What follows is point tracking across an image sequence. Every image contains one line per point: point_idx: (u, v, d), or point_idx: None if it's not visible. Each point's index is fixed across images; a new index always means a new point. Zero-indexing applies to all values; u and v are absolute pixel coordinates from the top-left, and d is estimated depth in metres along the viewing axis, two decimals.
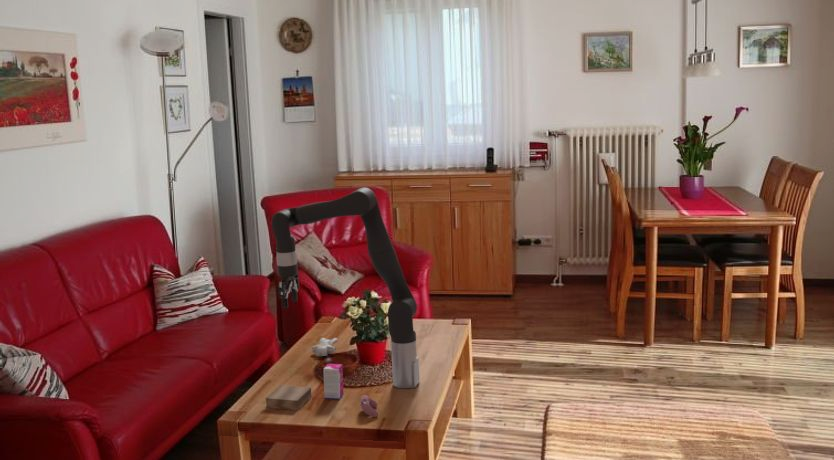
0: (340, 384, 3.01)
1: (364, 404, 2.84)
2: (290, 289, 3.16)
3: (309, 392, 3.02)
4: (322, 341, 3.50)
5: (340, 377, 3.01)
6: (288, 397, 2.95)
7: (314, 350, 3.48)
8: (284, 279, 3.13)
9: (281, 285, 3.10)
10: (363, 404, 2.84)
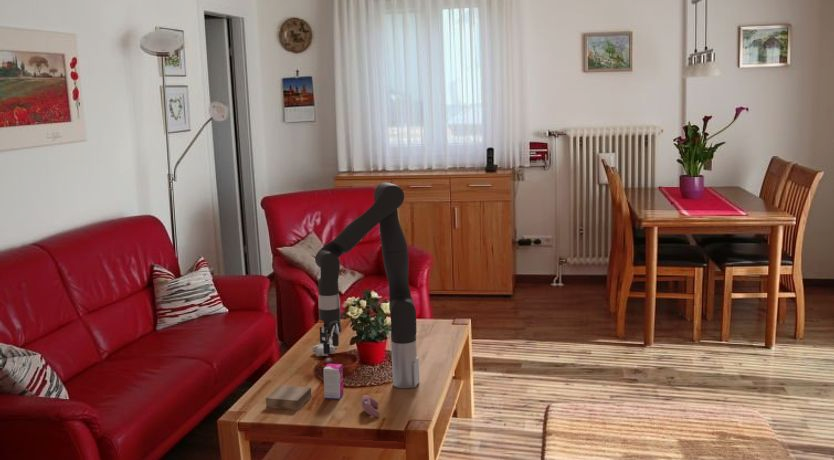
0: (340, 384, 3.01)
1: (365, 404, 2.84)
2: None
3: (309, 392, 3.02)
4: None
5: (340, 377, 3.01)
6: (288, 397, 2.95)
7: (314, 350, 3.48)
8: (326, 323, 2.94)
9: (323, 330, 2.92)
10: (364, 404, 2.84)
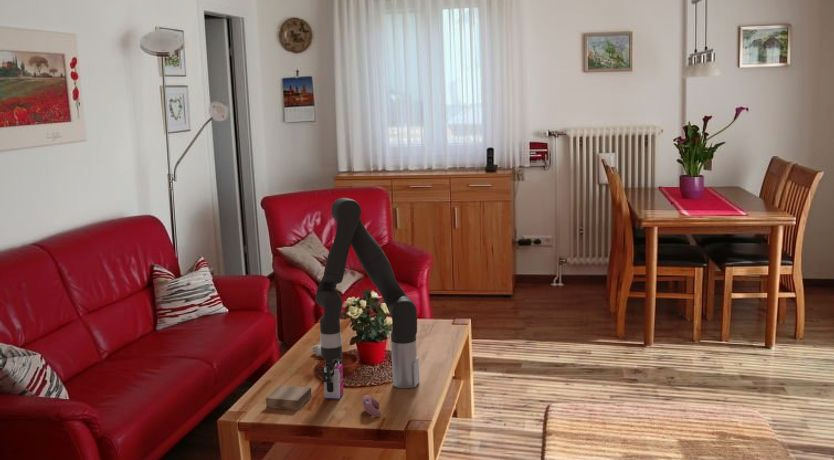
0: (340, 384, 3.01)
1: (366, 404, 2.84)
2: None
3: (309, 392, 3.02)
4: None
5: (340, 377, 3.01)
6: (288, 397, 2.95)
7: (314, 350, 3.48)
8: (328, 361, 2.97)
9: (326, 370, 2.95)
10: (365, 404, 2.84)
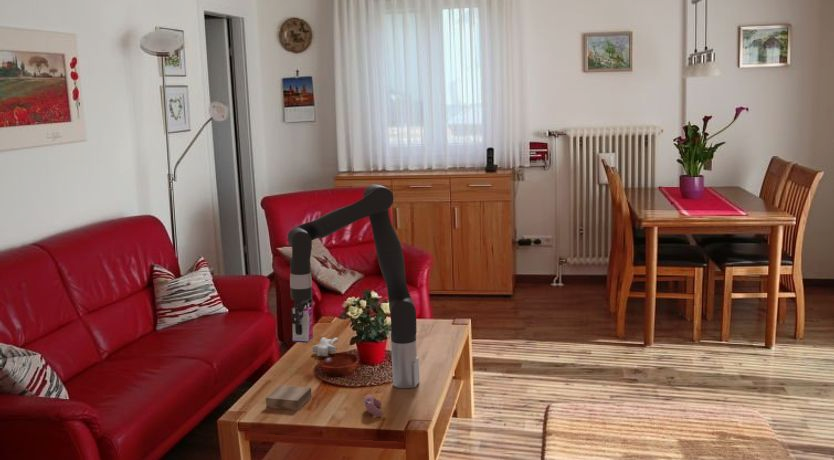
0: (309, 327, 2.95)
1: (368, 404, 2.84)
2: None
3: (309, 392, 3.02)
4: (323, 341, 3.50)
5: (309, 320, 2.94)
6: (288, 397, 2.95)
7: (315, 350, 3.48)
8: (298, 303, 2.91)
9: (294, 311, 2.88)
10: (367, 404, 2.84)
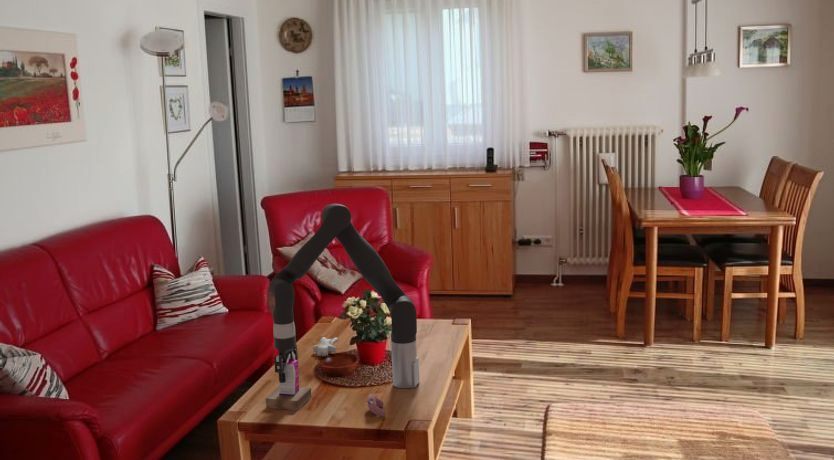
0: (295, 380, 2.97)
1: (371, 403, 2.84)
2: None
3: (309, 393, 3.02)
4: (323, 340, 3.50)
5: (295, 373, 2.97)
6: (288, 397, 2.95)
7: (315, 350, 3.48)
8: (281, 352, 2.92)
9: (278, 359, 2.90)
10: (370, 403, 2.84)
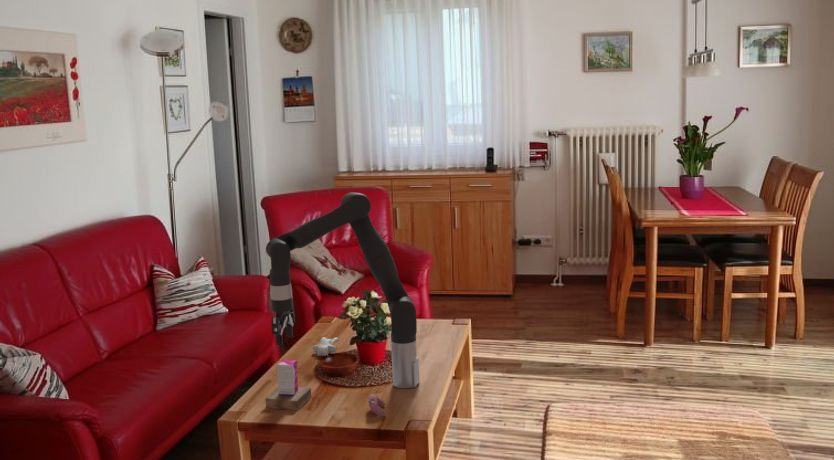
0: (295, 380, 2.97)
1: (372, 403, 2.84)
2: (285, 324, 2.93)
3: (309, 393, 3.02)
4: (323, 340, 3.50)
5: (295, 373, 2.97)
6: (287, 397, 2.95)
7: (315, 349, 3.48)
8: (278, 314, 2.90)
9: (275, 321, 2.87)
10: (371, 403, 2.84)
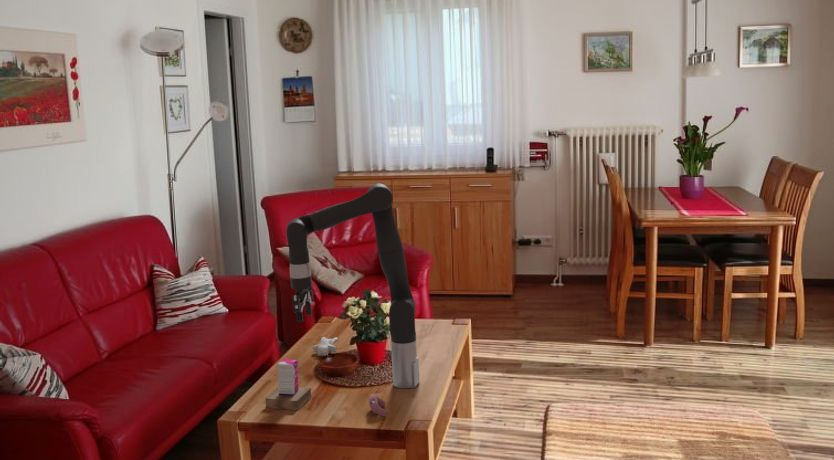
0: (295, 380, 2.97)
1: (373, 403, 2.84)
2: (304, 302, 3.03)
3: (309, 393, 3.02)
4: (323, 340, 3.50)
5: (295, 372, 2.97)
6: (287, 397, 2.95)
7: (315, 349, 3.48)
8: (298, 292, 2.99)
9: (296, 298, 2.96)
10: (372, 403, 2.84)
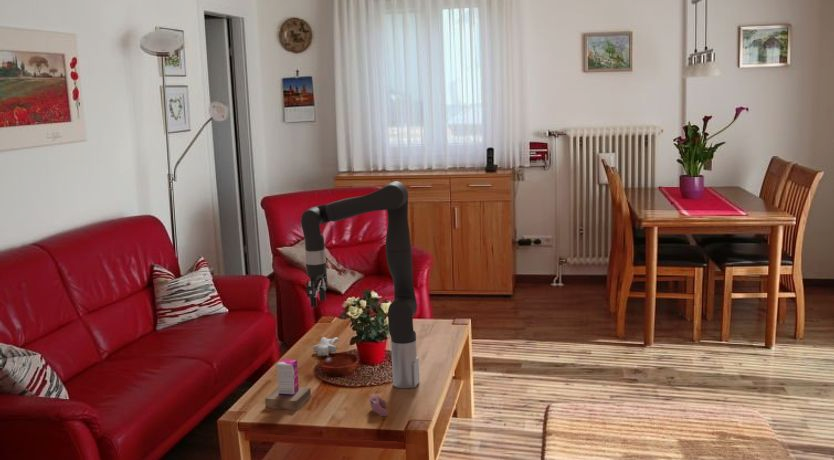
0: (294, 380, 2.97)
1: (374, 403, 2.84)
2: (319, 288, 3.11)
3: (308, 392, 3.02)
4: (323, 340, 3.50)
5: (294, 372, 2.97)
6: (287, 397, 2.95)
7: (315, 349, 3.49)
8: (313, 278, 3.08)
9: (310, 284, 3.05)
10: (373, 403, 2.84)
